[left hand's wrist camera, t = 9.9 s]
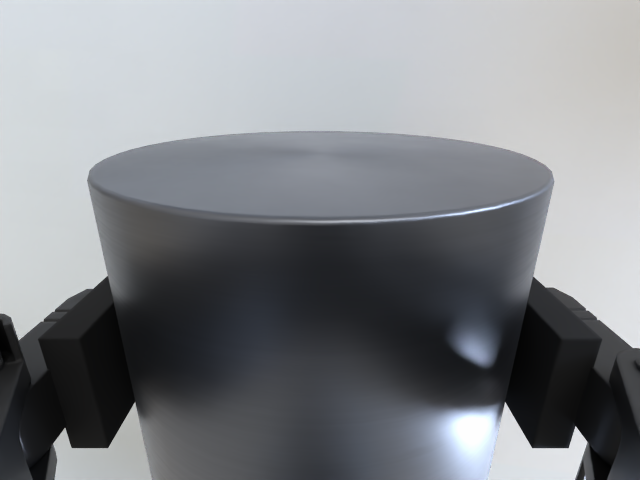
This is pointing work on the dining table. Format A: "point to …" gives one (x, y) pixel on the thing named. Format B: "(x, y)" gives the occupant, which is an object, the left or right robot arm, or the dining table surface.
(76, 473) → the dining table surface
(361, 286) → the rod
